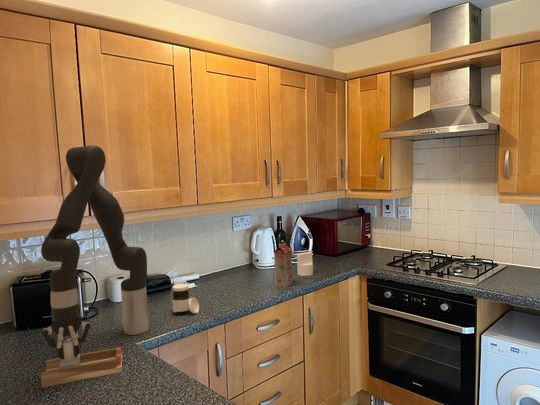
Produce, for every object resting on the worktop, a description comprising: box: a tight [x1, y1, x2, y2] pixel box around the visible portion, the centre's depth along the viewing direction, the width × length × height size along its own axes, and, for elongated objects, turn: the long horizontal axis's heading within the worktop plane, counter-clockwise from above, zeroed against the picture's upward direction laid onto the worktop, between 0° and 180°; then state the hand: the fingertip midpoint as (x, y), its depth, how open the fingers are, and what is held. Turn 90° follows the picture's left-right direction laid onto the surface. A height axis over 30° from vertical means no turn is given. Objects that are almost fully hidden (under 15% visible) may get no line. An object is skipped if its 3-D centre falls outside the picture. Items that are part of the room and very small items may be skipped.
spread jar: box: [171, 283, 200, 316], centre depth 171 cm, size 12×11×12 cm
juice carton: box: [273, 242, 294, 288], centre depth 206 cm, size 7×7×22 cm
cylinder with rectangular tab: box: [296, 251, 314, 277], centre depth 226 cm, size 9×9×12 cm
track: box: [40, 346, 123, 388], centre depth 122 cm, size 10×22×4 cm, turn 110°
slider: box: [59, 338, 81, 369], centre depth 120 cm, size 6×5×9 cm
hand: (69, 356), depth 120 cm, fingers closed on slider, 3 cm apart
